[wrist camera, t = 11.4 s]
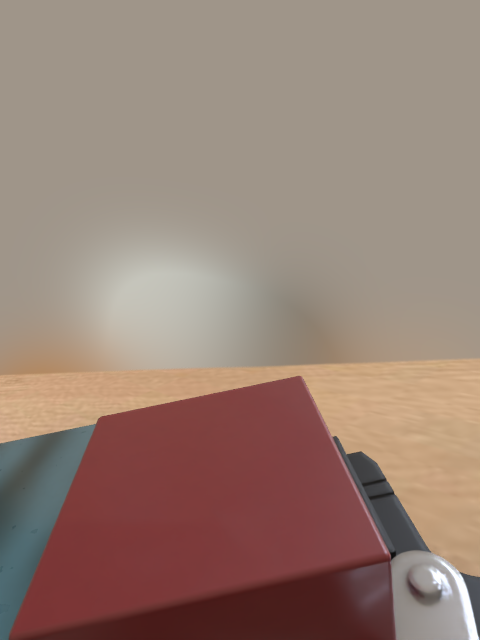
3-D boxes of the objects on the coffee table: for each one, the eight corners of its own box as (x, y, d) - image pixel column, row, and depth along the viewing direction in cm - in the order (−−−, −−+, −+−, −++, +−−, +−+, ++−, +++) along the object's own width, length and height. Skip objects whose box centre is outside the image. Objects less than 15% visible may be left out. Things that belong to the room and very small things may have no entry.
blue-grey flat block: (139, 447, 29) (127, 409, 28) (63, 789, 13) (27, 731, 12) (-2, 476, 29) (-20, 439, 27) (-258, 861, 13) (-326, 809, 11)
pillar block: (337, 619, 13) (301, 373, 10) (413, 870, 8) (393, 555, 5) (183, 653, 13) (97, 415, 10) (173, 927, 8) (3, 640, 5)
